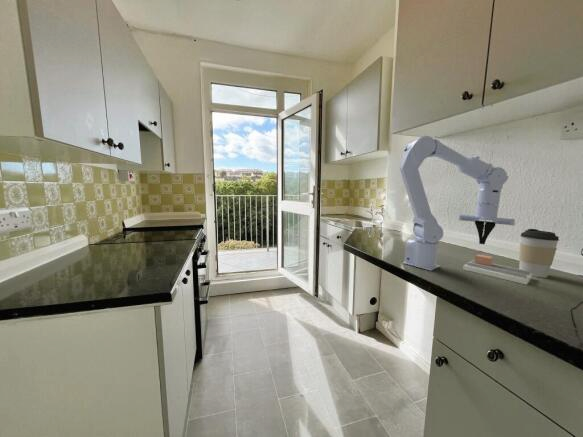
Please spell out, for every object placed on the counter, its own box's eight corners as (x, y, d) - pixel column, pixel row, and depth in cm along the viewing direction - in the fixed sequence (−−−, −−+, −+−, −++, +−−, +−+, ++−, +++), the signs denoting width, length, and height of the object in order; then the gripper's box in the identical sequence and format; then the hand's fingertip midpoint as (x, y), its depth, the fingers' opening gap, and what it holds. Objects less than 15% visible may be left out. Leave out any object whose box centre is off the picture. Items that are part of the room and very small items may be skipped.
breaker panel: (462, 269, 83) (463, 262, 82) (471, 265, 88) (471, 258, 88) (527, 284, 70) (528, 276, 70) (531, 278, 76) (532, 271, 76)
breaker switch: (474, 265, 82) (475, 255, 82) (477, 263, 85) (478, 254, 84) (489, 268, 79) (490, 258, 79) (491, 266, 81) (493, 257, 81)
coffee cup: (560, 280, 76) (569, 233, 74) (527, 277, 78) (534, 231, 76) (537, 271, 85) (544, 229, 83) (508, 268, 86) (514, 227, 85)
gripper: (461, 202, 81) (455, 241, 83) (519, 206, 73) (512, 249, 74) (461, 202, 87) (456, 239, 89) (515, 205, 78) (508, 245, 80)
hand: (481, 243), depth 82 cm, fingers closed
